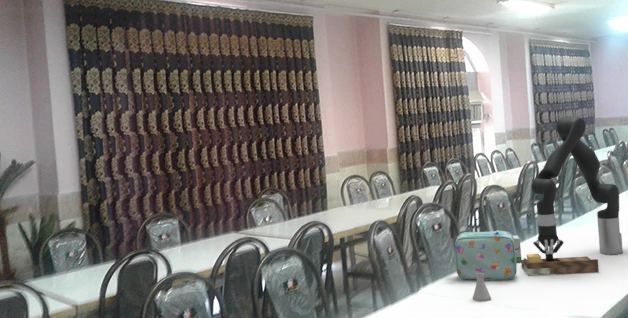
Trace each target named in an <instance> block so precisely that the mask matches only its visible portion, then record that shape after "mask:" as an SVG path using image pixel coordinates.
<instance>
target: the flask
mask: <svg viewBox="0 0 628 318" xmlns="http://www.w3.org/2000/svg"><path fill="white" fill-rule="evenodd" d="M476 276H477V279H476V284H475V289H474V292H473V295H472V300H474V301H476V302H486V301H491V300H492V297H491V294H490V292H489V290H488V288H487V286H486V283H485V280H484V277H483V276H484V274H483V273H477V274H476Z"/></svg>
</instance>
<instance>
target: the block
mask: <svg viewBox="0 0 628 318" xmlns="http://www.w3.org/2000/svg"><path fill="white" fill-rule="evenodd" d="M526 259H527V260H528V262H529V263H536V262H541V259H542V256H541V255H540V254H539V253H530V254H528V253H526Z"/></svg>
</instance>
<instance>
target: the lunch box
mask: <svg viewBox="0 0 628 318" xmlns="http://www.w3.org/2000/svg"><path fill="white" fill-rule="evenodd" d="M515 249H516V248H515V244H514V238H513V234H512V233H511V232H509V231H507V230H499V229H497V230H495V231H494V230H492V231H491V230H490V231H475V232H474V231H465V232H461V233H459V234H458V235H457V236H456V240H455V243H454V256H455V258H454V259H455V267H456V274H457V276H458V277H459V278H460V279H462V280H477V276H476V274H477V273H483V274H484V276H483V277H484V281H493V280H494V281H496V280H502V281H503V280H504V281H505V280H511V279H513V278H515V277H516V275H517V271H518V270H517V269H518V267H517V264H518V263H516V254H517V255H518V253H517V251H515ZM518 256H519V255H518Z"/></svg>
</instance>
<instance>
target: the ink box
mask: <svg viewBox="0 0 628 318" xmlns="http://www.w3.org/2000/svg"><path fill="white" fill-rule="evenodd" d="M512 236H513V238H514V244H515V248H516V249H515V251H517V253H518V255H519V256H518V255H517V254H516V263H517V264H518V263H520V264H521V260H522V249H521V248H522V247H521V239H520V237H519V235H518V234H517V235H513V234H512Z"/></svg>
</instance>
